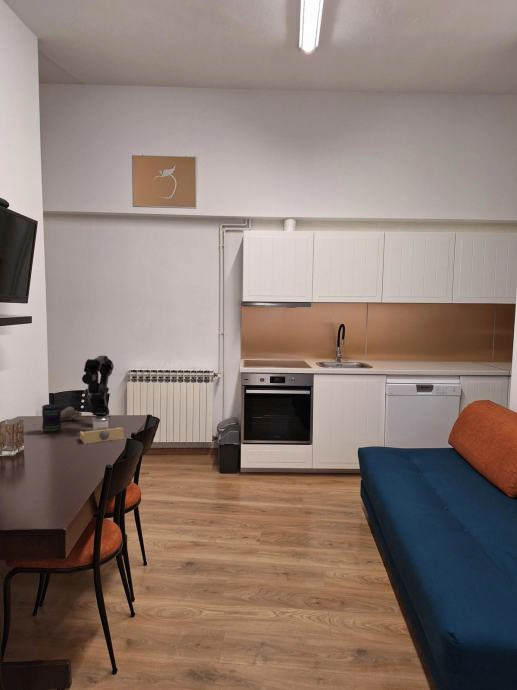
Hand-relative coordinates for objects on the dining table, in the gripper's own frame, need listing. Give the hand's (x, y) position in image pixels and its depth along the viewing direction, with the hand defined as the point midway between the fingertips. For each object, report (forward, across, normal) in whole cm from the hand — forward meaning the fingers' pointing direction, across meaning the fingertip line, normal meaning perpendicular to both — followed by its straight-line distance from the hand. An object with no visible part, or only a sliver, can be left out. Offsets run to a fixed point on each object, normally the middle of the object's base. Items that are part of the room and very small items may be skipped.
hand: (93, 408), depth 276 cm
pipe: (+13, +34, +9) cm, 38 cm away
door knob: (+13, -16, 0) cm, 21 cm away
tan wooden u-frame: (+13, -20, 0) cm, 24 cm away
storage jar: (+13, +8, +21) cm, 26 cm away
